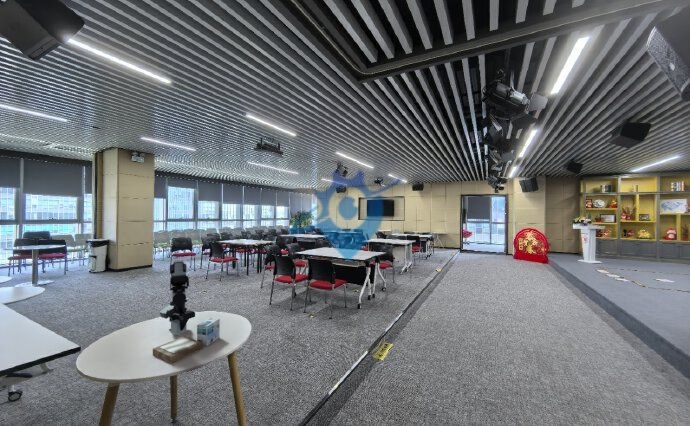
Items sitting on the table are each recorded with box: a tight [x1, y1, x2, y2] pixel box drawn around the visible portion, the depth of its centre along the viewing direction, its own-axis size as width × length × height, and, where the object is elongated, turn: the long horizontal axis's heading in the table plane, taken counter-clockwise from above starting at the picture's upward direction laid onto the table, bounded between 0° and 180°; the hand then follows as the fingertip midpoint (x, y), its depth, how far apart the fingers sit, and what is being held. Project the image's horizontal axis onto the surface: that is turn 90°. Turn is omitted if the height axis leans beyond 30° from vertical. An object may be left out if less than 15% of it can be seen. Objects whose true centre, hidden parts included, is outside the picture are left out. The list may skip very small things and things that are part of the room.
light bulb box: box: [196, 317, 221, 347], centre depth 154 cm, size 11×7×11 cm, turn 168°
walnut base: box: [152, 335, 204, 364], centre depth 142 cm, size 16×16×3 cm
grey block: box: [170, 319, 188, 336], centre depth 142 cm, size 5×5×6 cm
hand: (178, 329), depth 142 cm, fingers closed on grey block, 5 cm apart
